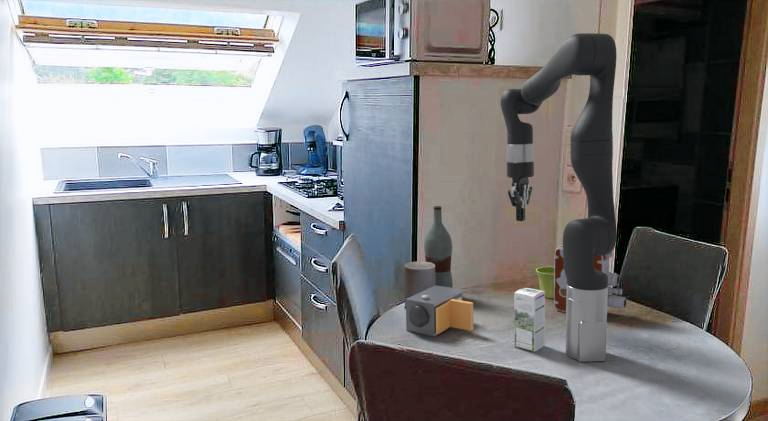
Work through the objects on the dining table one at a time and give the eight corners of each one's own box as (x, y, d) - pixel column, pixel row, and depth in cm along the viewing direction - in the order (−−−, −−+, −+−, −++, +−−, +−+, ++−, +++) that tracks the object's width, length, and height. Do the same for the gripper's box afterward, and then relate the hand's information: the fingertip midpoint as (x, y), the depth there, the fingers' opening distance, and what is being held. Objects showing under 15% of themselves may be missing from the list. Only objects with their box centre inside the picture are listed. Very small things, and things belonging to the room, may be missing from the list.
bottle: (419, 296, 188) (417, 207, 184) (435, 290, 195) (433, 203, 191) (442, 301, 182) (441, 209, 178) (458, 294, 189) (457, 205, 185)
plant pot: (569, 300, 180) (570, 273, 179) (539, 300, 180) (540, 274, 179) (560, 291, 189) (561, 266, 188) (532, 292, 189) (532, 267, 188)
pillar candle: (398, 308, 176) (397, 261, 174) (418, 300, 183) (417, 255, 181) (422, 315, 170) (421, 266, 167) (442, 307, 177) (441, 260, 174)
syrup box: (545, 345, 143) (546, 290, 141) (533, 353, 139) (534, 295, 137) (525, 340, 147) (525, 286, 145) (513, 347, 143) (513, 291, 141)
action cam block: (435, 314, 170) (435, 282, 168) (463, 319, 164) (462, 286, 163) (404, 331, 156) (403, 297, 154) (433, 338, 151) (432, 302, 149)
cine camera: (619, 323, 157) (621, 253, 155) (551, 311, 169) (552, 246, 166) (628, 314, 165) (630, 247, 162) (562, 303, 176) (563, 240, 173)
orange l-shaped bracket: (450, 324, 158) (450, 298, 157) (473, 329, 154) (473, 302, 152) (436, 333, 151) (435, 306, 150) (459, 338, 147) (459, 310, 146)
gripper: (516, 159, 168) (517, 217, 170) (498, 161, 158) (499, 223, 160) (541, 159, 164) (541, 218, 166) (524, 161, 153) (524, 224, 155)
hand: (520, 220), depth 163 cm, fingers closed
